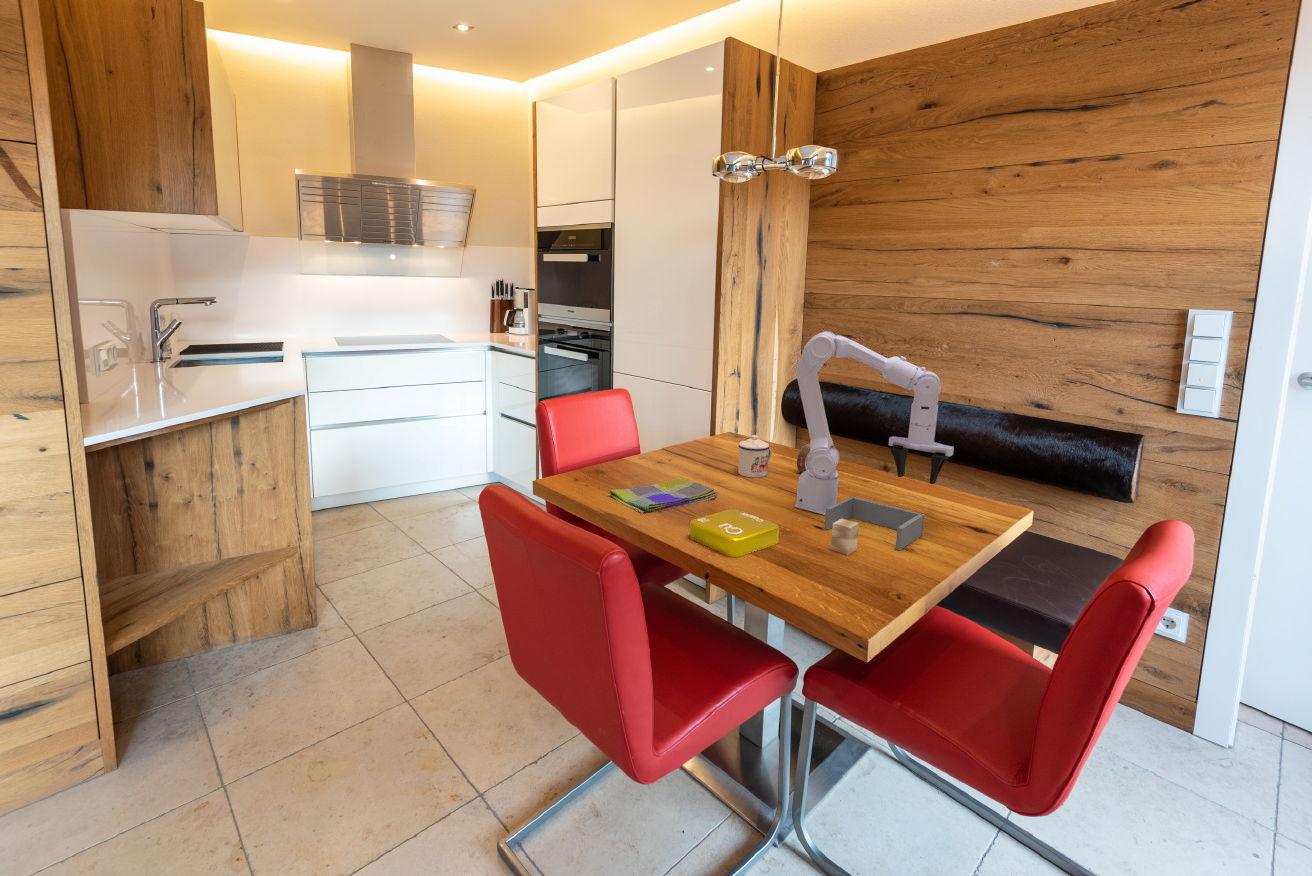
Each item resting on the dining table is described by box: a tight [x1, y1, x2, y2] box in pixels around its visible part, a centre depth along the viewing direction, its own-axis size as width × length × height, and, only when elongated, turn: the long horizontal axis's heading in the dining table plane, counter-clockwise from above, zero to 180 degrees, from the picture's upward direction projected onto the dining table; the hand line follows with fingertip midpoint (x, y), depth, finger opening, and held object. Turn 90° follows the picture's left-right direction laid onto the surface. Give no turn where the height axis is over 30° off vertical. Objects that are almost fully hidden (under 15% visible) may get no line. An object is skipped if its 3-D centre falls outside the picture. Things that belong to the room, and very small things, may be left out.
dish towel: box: [609, 476, 719, 514], centre depth 176 cm, size 18×24×3 cm
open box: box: [823, 495, 926, 551], centre depth 153 cm, size 18×12×5 cm
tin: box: [796, 442, 811, 473], centre depth 203 cm, size 15×3×8 cm, turn 141°
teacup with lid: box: [737, 434, 773, 479], centre depth 198 cm, size 12×9×12 cm
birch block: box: [830, 519, 860, 556], centre depth 143 cm, size 4×4×6 cm
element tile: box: [689, 508, 780, 558], centre depth 148 cm, size 15×15×5 cm
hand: (916, 479), depth 159 cm, fingers open, 7 cm apart
